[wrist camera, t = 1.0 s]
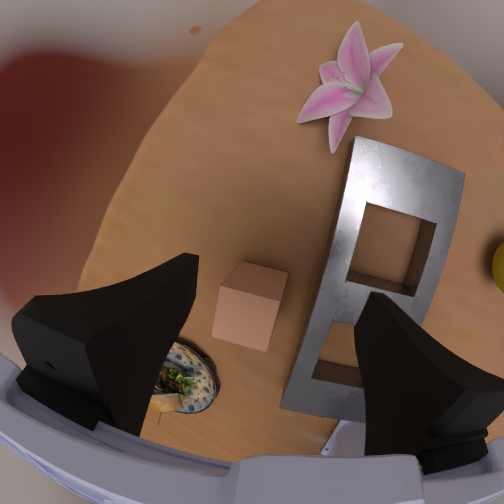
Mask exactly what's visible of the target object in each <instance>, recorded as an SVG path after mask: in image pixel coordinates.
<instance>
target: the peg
mask: <svg viewBox="0 0 504 504" xmlns="http://www.w3.org/2000/svg"><path fill="white" fill-rule="evenodd" d="M288 274H289V273H288V272H284V271H280V270H276V269H272V268H268V267H264V266H260V265H256V264H252V263H248V262H244V261H243V262H242V263H241V264H240V265H239V266H238V267H237V268H236V269H235V270H234V271H233V272H232V273H231V274H230V276H229V277H228V278H227V279H226V280H225V281H224V282H223V283H222V284H221V285H220V289H219V295H218V301H217V307H216V313H215V319H214V325H213V331H212V337H215V338H218V339H222V340H225V341H228V342H231V343H235V344H238V345H242V346H245V347H249V348H252V349H256V350H260V351H263V352H267V349H268V346H269V342H270V339H271V336H272V333H273V330H274V326H275V323H276V320H277V316H278V313H279V309H280V305H281V301H282V298H283V294H284V290H285V286H286V282H287V278H288Z"/></svg>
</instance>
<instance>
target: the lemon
mask: <svg viewBox="0 0 504 504" xmlns="http://www.w3.org/2000/svg"><path fill="white" fill-rule="evenodd" d="M492 273H493V278H494V280H495V282H496V284H497V286H498V287H499V289H500V290H501V291H502V292H503V293H504V242H503V243H502V244H501V245H500V246H499V247H498V249H497V250H496V252H495V254H494V257H493V261H492Z"/></svg>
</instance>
